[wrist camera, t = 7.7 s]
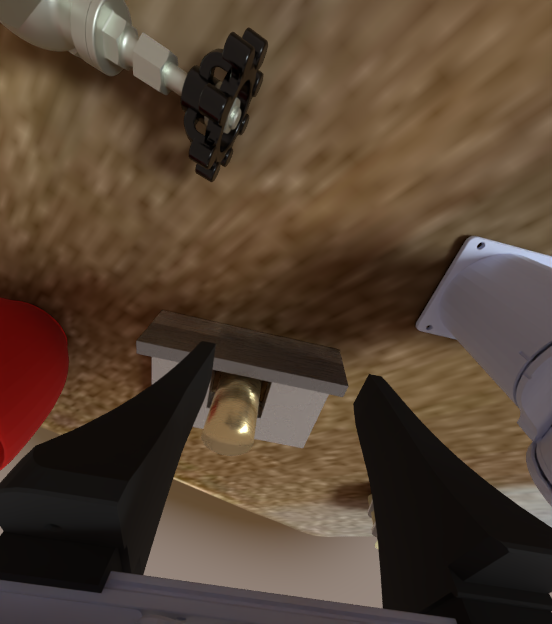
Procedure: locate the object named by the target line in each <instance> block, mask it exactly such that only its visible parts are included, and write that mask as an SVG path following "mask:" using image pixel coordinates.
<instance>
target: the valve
mask: <svg viewBox="0 0 552 624" xmlns="http://www.w3.org/2000/svg"><path fill="white" fill-rule="evenodd" d="M0 23H2V24H3V25H4V26H5V27H6V28H7V29H8V30H10V31H11V32H12V33H14V34H15V35H17V36H18V37H20V38H21V39H23V40H25V41H26V42H28V43H30V44H32V45H34V46H37V47H39V48H42V49H46V50H50V51H68V52H70V53H71V54H73V55H75V56H77V57H79V58H81V59H83V60H84V61H85V62H87V63H88V64H90V65H91V66H93V67H94V68H96V69H98V70H99V71H101V72H102V73H104V74H106V75H108V76H115V75H117V74H119V73H120V72H121V71H122V70H123V68H124V69H126V70H128V71H129V70H130V69H131V68H132V67H133V75H134V76H136V77H137V78H139V79H140V80H142V81H143V82H145V83H146V84H148V85H150V86H151V87H153V88H154V89H156V90H157V91H159V92H161V93H163V94H164V95H168V94H169V93H170V92H171V90H172V91H173V92H175V93H177V94H178V95H180V96H181V107H182V110H183V111H184V112H186V113H185V116H184V127H185V131H186V135H187V137H188V139H189V140H190V142H191V143H192V144H191V146H190V149H189V158H190V159H191V160H192V161H194V162H196V163H197V165H196V169H195V172H196V173H197V174H198V175H200V176H201V177H203V178H205V179H207V180H208V181H210V182H213V181H214V180H215V179H216V177H217V175H218V173H219V170H220V165H222V166H224V167H226V166H227V165H228V163H229V161H230V159H231V157H232V154H233V149H232V146H233V143H234V141H235V139H236V137H237V135H238V134H240V135H242V134H243V133H244V131H245V129H246V127H247V124H248V121H249V115H248V114H246V113H247V110H248V107H249V104H250V102H251V99H252V97H255V96H256V95H257V93H258V91H259V89H260V87H261V84H262V81H263V73H262V72H261V71H259V68H260V67H261V65H262V63H263V61H264V58H265V55H266V52H267V48H268V42H267V40H265V39H264V38H263V37H261V36H260V35H259V34H257V33H256V32H255V31H253V30H252V29H251V28H247V29H246V31H245V32H244V34H243V37H242V38H241V37H240V36H239V35H237V34H236V33H235V32H231V33H230V35H229V36H228V38H227V40H226V43H225V46H224V49H215V50H213V51H211V52H210V53H208V54H207V55H206V56H205V57H204V58H203V60H202V62H201V64H200V67H199V66H197V65H196V66H193V67H192V68H191V69H190V71H189V72H188V73H186V72H185V71H184V70H182V69H181V68H179V67H178V58H177V56H176V55H174V54H173V53H172V52H171V51H170V50H168V49H167V48H165V47H164V46H162V45H161V44H159V43H158V42H156V41H155V40H153V39H152V38H151V37H149V36H148V35H146V34H145V33H143V32H142V34H141V36H140V38H138V32H137V29H136V28H134V27H133V26H132V22H131V16H130V13H129V9H128V7H127V5H126V3H125V1H124V0H0ZM215 67H220V68H222V69H223V70H225V71H226V72H228V73H227V74H226V76H225V78H224V80H223V82H221V81H219V80H218V79H217V78H215V77H214V70H215ZM237 95H238V96H237ZM198 121H200V122H201V123H203V124H205V125H206V126H207V128H206V133H205V136H204V135H203V134H201V133H199V132H198V131H197V130H196V128H195V127H196V124H197V122H198ZM223 132H224V133H223ZM222 134H223V135H222Z"/></svg>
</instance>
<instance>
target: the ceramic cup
mask: <svg viewBox="0 0 552 624" xmlns="http://www.w3.org/2000/svg"><path fill="white" fill-rule="evenodd" d="M67 344H68V343H67V337H66V335H65V332H64V331H63V329H62V327H61V326H60V325H59V323H58V322H57V321H56V320H55V319H54V318H53V317H52V316H50V315H49V314H48V313H46V312H45V311H44V310H42V309H40V308H38V307H36V306H34V305H32V304H29V303H26V302H22V301H15V300H9V299H5V298H0V470H2V469H3V468H4V467H5V466H6V465H7V464H9V463H10V462H11V461H12V460H13V458H14V457H15V456H16V455H17V454H18V453H19V452H20V450H21V449H22V448H23V447H24V446H25V445H26V443H27V442H28V441H29V440H30V439H31V437H32V436H33V435H34V434H35V432H36V431H37V430H38V428H39V427H40V426H41V425H42V423H43V422H44V420H45V419H46V418H47V416H48V415H49V413H50V412H51V410H52V409H53V407H54V405H55V403H56V402H57V400H58V398H59V396H60V394H61V392H62V390H63V387H64V385H65V382H66V378H67V373H68V365H69V356H68V349H67Z"/></svg>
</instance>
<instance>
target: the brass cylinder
mask: <svg viewBox="0 0 552 624" xmlns="http://www.w3.org/2000/svg"><path fill="white" fill-rule="evenodd" d="M261 385H262V380H260V379H255V378H250V377H246V376H241V375H236V374H231V373H227V372H221V375H220V379H219V382H218V385H217V388H216V391H215V395H214V398H213V401H212V404H211V407H210V410H209V413H208V416H207V419H206V422H205V425H204V428H203V432H202V435H201V438H202V441H203V443H204V445H205V446H206V447H207V448H209V449H210V450H212V451H213V452H216V453H218V454H222V455H227V456H236V455H241V454H244V453H246V452H248V451H249V450H250V449H251V448H252V447H253V443H254V436H255V428H256V421H257V413H258V406H259V398H260V391H261Z"/></svg>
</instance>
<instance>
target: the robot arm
mask: <svg viewBox="0 0 552 624" xmlns="http://www.w3.org/2000/svg"><path fill="white" fill-rule="evenodd" d="M481 242H482V244H481V246H480V247H479V248H477V245H478V244H479V243H481ZM428 325H430V327H428V328H426V327H427V326H428ZM416 328H417V329H418V330H419V331H422V332H427V333H431V334H435V335H439V336H444V337H448V338H452V339H456V340H458V342H459V343H460V344H461V345H462V346H463V347H464V348H465V349H466V350H467V351H468V353H469V354H470V355H471V356H472V357H473V358H474V359H475V360H476V361H477V362H478V364H479V365H480V366H481V367H482V368H483V369H484V370H485V371H486V372H487V373H488V375H489V376H490V377H491V378H492V379H493V380H494V381H495V382H496V383H497V384H498V386H499V387H500V388H501V389H502V390H503V391H504V392H505V393H506V394H507V395H508V397H509V398H510V399H511V400H512V401H513V402H514V403H515V404H516V405H517V406H518V408H519V409H520V412H521V415H520V418H519V420H518V421H517V424H518V425H519V426H520V427H521V428H522V429H523V431H524V432H525V433H526V434H527V435H528V437H529V438H530V439H531V440H532V441H533V442H532V443H531V445H530V446H529V447H528V450H527V453H526V463H527V467H528V470H529V473H530V475H531V477H532V480H533V481H534V483H535V484H536V486H537V488H538V489H539V491H540V492H541V494H542V495H543V496H544V498H545V499H546V500H547V502H548V503H549V504H550V505H551V506H552V256H549V255H545V254H542V253H538V252H534V251H530V250H527V249H523V248H519V247H515V246H512V245H508V244H504V243H500V242H497V241H493V240H489V239H486V238H482V237H478V236H471V237H469V238H467V239H466V241H465V242H464V244H463V245H462V247H461V249H460V250H459V252H458V254H457V255H456V257H455V259H454V260H453V262H452V264H451V265H450V267H449V269H448V270H447V272H446V274H445V275H444V277H443V279H442V280H441V282H440V284H439V286H438V287H437V289H436V291H435V292H434V294H433V296H432V297H431V299H430V301H429V302H428V304H427V306H426V307H425V309H424V311H423V312H422V314H421V316H420V317H419V319H418V321H417V322H416ZM215 346H216V344H215V343H210V342H205V341H201V342H200V343H199V344H198V345H197V346H196V347H195V348H194V349H193V350H192V351H191V352H190V353H189V354H188V355H187V356H186V357H185V358H184V359H183V360H182V361H180V362H179V363H178V364H177V365H176V366H175V367H174V368H173V369H171V370H170V371H169V372H168V373H167V374H165V375H164V376H163V377H161V378H160V379H159V380H158V381H156V382H155V383H154V384H152V385H151V386H150V387H148V388H147V389H145V390H144V391H142V392H141V393H139V394H138V395H136V396H135V397H133V398H132V399H130V400H128V401H127V402H125V403H124V404H122V405H120V406H119V407H117V408H115V409H113V410H112V411H110V412H108V413H106V414H104V415H102V416H100V417H98V418H96V419H94V420H93V421H91V422H89V423H87V424H85V425H83V426H81V427H79V428H76V429H74V430H72V431H70V432H68V433H65V434H63V435H61V436H58V437H56V438H54V439H51V440H49V441H47V442H44V443H42V444H39V445H37V446H35V447H34V448H33V449H32V450H31V451H30V452H29V453H28V454H27V455H26V456H25V457H23V458H22V459H21V460H20V462H19V463H18V464H17V465H16V466H15V467H14V468H13V469H12V470H11V471H10V472H9V474H8V475H7V476H6V477H5V478H4V479H3V480H2V482H1V483H0V526H1V528H2V529H3V531H4V532H3V533H2V534H1V536H0V624H552V612H551V611H552V598H551V597H550V595H549V593H550V592H552V528H551V527H550V526H548V525H547V524H545V523H544V522H542V521H541V520H539V519H538V518H536V517H535V516H533V515H532V514H530V513H529V512H527V511H526V510H524V509H523V508H521V507H520V506H519V505H517V504H516V503H515V502H513V501H512V500H510V499H509V498H508V497H506V496H505V495H504V494H502V493H501V492H500V491H498V490H497V489H496V488H494V487H493V486H492V485H490V484H489V483H488V482H487V481H485V480H484V479H483V478H482V477H480V476H479V475H478V474H477V473H476V472H474V471H473V470H472V469H471V468H470V467H468V466H467V465H466V464H465V463H464V462H463V461H461V460H460V459H459V458H458V457H457V456H456V455H455V454H454V453H452V452H451V451H450V450H449V449H448V448H447V447H446V446H445V445H444V444H443V443H442V442H441V441H440V440H439V439H438V438H437V437H436V436H435V435H434V434H433V433H432V432H431V431H430V430H429V429H428V428H427V427H426V426H425V425H424V424H423V423H422V422H421V421H420V420H419V419H418V417H417V416H416V415H415V414H414V413H413V412H412V411H411V410H410V408H409V407H408V406H407V405H406V404H405V403H404V402H403V400H402V399H401V398H400V397H399V396H398V395H397V393H396V392H395V391H394V390H393V389H392V388H391V386H390V385H389V384H388V383H387V382H386V381H385V380H384V379H383V378H382V377H381V376H376V375H371V374H369V375H368V377H367V379H366V381H365V383H364V385H363V386H362V388H361V390H360V392H359V394H358V396H357V398H356V400H355V402H354V404H353V405H354V415H355V423H356V428H357V433H358V437H359V441H360V445H361V449H362V453H363V457H364V461H365V465H366V469H367V473H368V477H369V482H370V487H371V494H372V500H373V507H374V514H375V522H376V530H377V539H378V549H379V560H380V572H381V584H382V585H381V586H382V600H383V601H382V602H383V609H382V608H374V607H367V606H360V605H353V604H346V603H339V602H331V601H324V600H316V599H310V598H302V597H295V596H288V595H281V594H274V593H266V592H260V591H252V590H245V589H238V588H230V587H224V586H216V585H209V584H202V583H195V582H187V581H181V580H173V579H166V578H158V577H151V576H145V575H143V574H144V570H145V567H146V564H147V560H148V557H149V554H150V550H151V547H152V544H153V541H154V537H155V534H156V531H157V527H158V524H159V521H160V518H161V515H162V512H163V508H164V505H165V502H166V499H167V496H168V493H169V490H170V486H171V483H172V480H173V477H174V474H175V471H176V468H177V465H178V462H179V459H180V456H181V453H182V451H183V448H184V445H185V443H186V441H187V438H188V436H189V434H190V431H191V429H192V427H193V425H194V422H195V420H196V418H197V415H198V413H199V411H200V408H201V406H202V404H203V402H204V399H205V397H206V394H207V390H208V387H209V384H210V381H211V377H212V370H213V362H214V354H215Z"/></svg>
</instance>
